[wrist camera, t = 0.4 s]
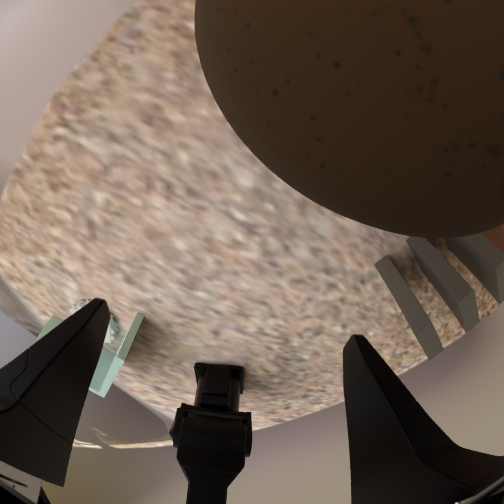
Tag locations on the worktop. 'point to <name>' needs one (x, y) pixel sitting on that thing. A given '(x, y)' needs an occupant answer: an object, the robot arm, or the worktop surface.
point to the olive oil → (368, 104)
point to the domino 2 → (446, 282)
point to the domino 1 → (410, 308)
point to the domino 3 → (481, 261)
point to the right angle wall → (103, 350)
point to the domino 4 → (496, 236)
